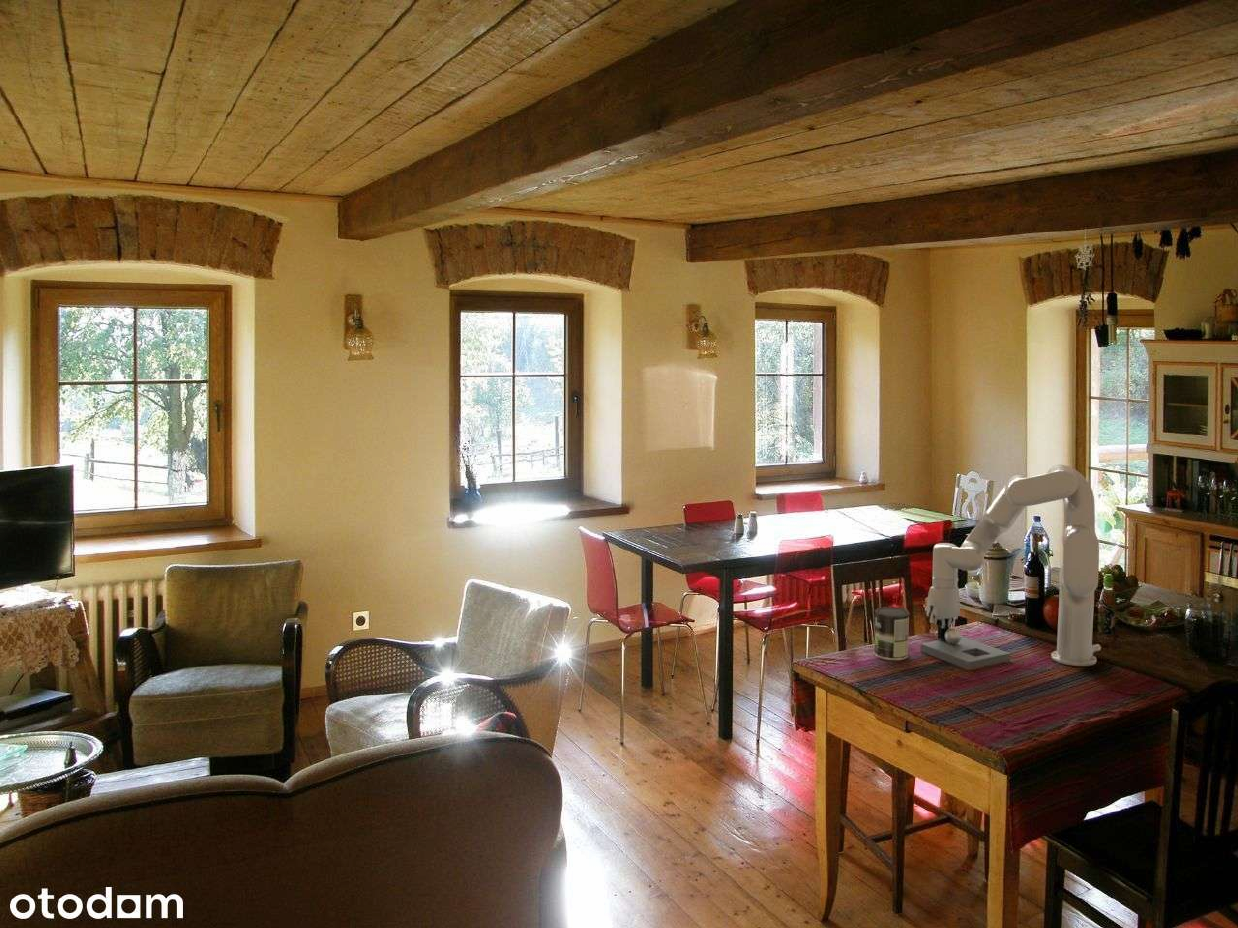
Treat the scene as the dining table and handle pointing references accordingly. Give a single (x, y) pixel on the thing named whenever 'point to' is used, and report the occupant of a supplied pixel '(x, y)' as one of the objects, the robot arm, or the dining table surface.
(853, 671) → the dining table surface
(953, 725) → the dining table surface
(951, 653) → the hole board
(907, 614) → the coffee can
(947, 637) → the steel ball
